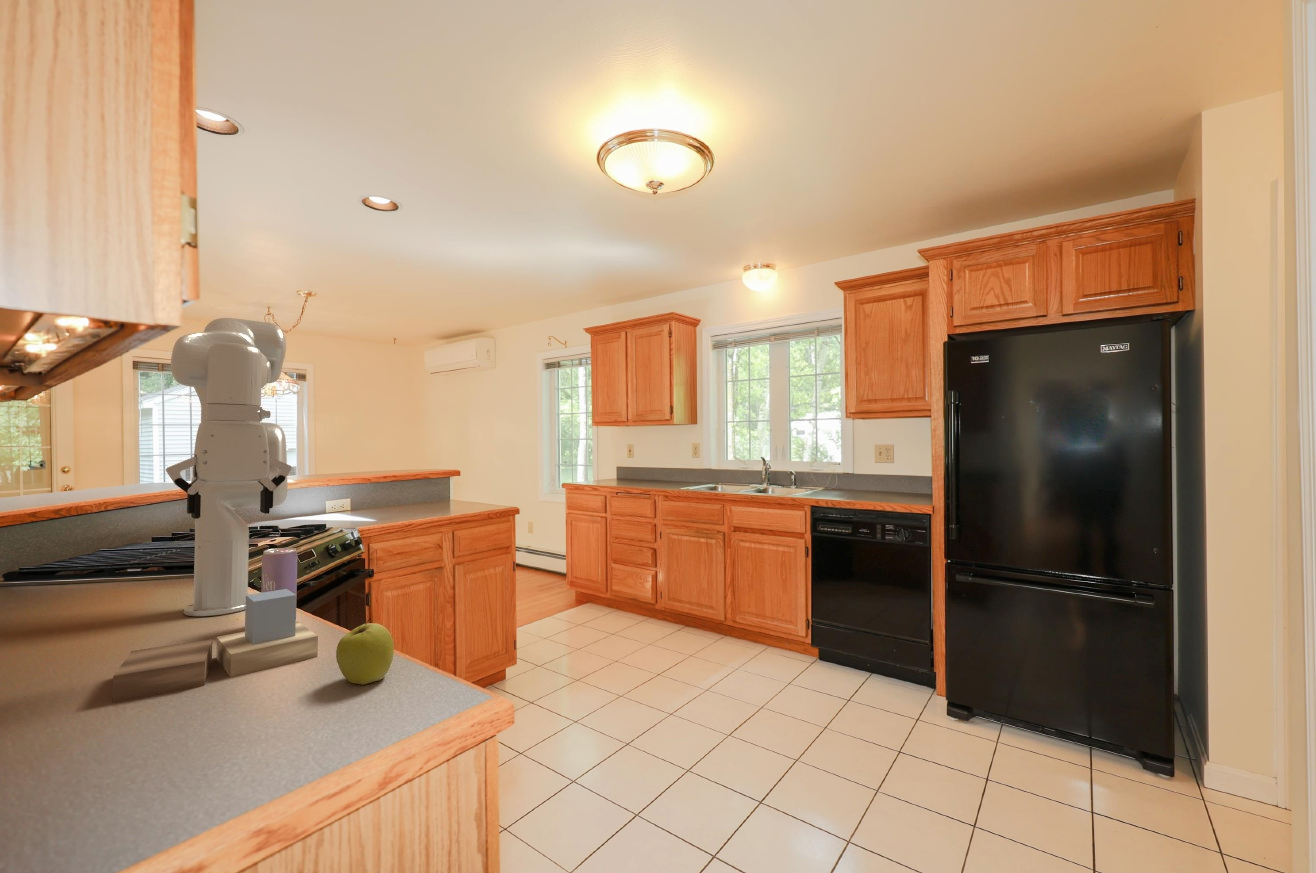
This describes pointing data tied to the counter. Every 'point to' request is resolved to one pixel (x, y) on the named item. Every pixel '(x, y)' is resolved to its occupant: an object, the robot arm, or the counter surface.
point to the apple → (365, 653)
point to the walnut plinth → (162, 670)
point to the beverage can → (279, 570)
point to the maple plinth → (264, 651)
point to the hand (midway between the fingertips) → (231, 515)
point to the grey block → (270, 616)
